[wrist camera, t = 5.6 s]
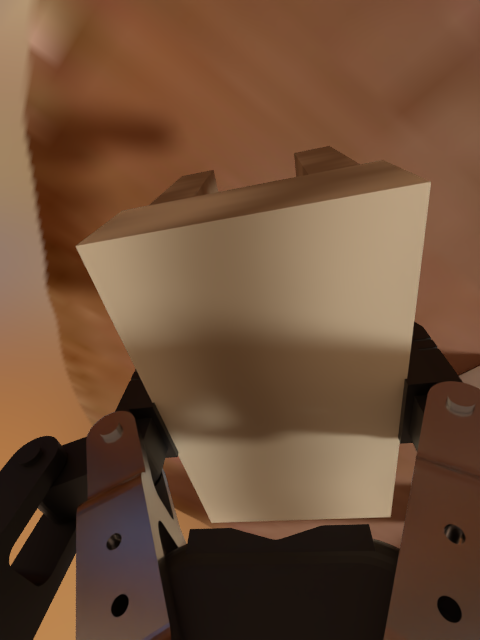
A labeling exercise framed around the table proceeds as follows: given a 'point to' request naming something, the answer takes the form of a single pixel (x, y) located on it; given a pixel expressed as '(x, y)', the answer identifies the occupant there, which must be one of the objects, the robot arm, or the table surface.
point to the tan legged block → (274, 330)
